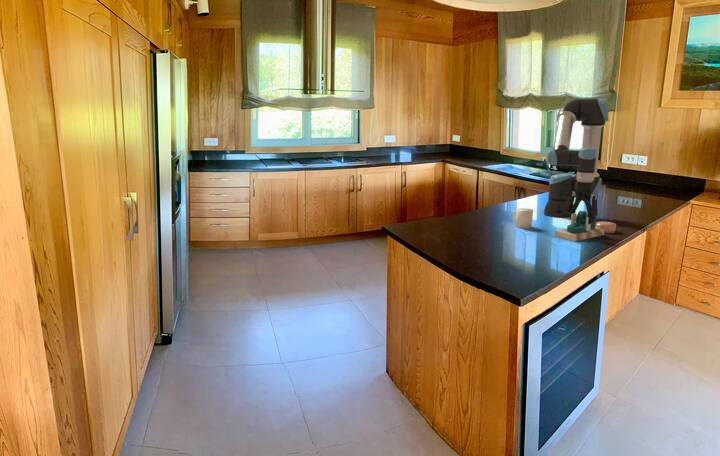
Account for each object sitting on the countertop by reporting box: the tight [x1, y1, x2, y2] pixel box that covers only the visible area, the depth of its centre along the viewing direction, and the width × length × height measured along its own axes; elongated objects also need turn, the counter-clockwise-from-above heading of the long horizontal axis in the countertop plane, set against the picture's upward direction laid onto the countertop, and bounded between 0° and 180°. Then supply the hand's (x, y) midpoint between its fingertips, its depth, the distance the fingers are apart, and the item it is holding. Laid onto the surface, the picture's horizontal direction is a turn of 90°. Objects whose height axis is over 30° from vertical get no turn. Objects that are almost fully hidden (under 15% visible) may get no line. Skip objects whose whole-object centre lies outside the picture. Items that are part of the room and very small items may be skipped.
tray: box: [554, 227, 605, 242], centre depth 241 cm, size 22×11×3 cm, turn 121°
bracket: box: [566, 210, 597, 233], centre depth 239 cm, size 18×7×8 cm, turn 132°
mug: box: [512, 207, 534, 230], centre depth 259 cm, size 8×11×9 cm
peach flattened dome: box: [595, 221, 617, 234], centre depth 249 cm, size 9×9×4 cm
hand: (580, 228), depth 240 cm, fingers closed on bracket, 7 cm apart
